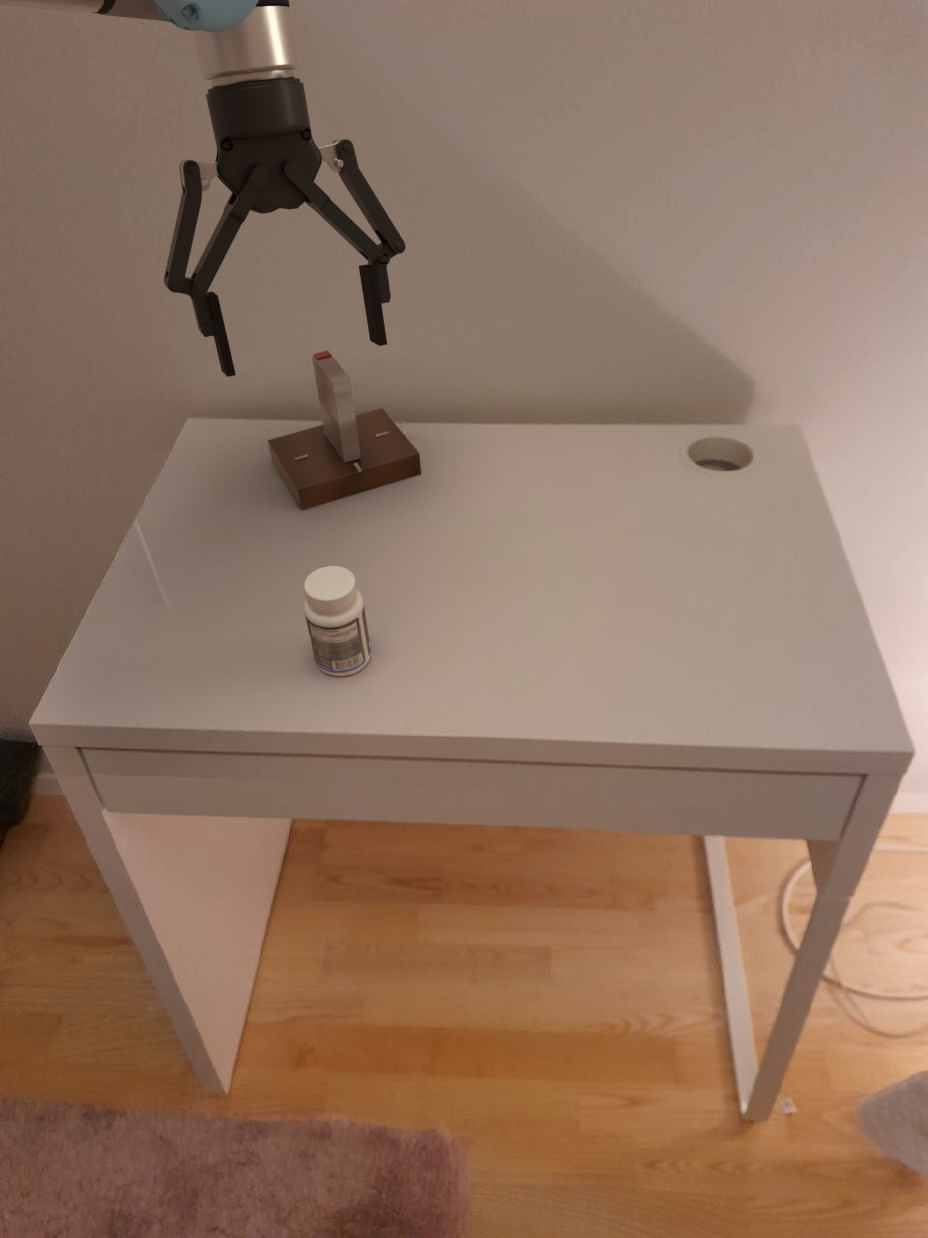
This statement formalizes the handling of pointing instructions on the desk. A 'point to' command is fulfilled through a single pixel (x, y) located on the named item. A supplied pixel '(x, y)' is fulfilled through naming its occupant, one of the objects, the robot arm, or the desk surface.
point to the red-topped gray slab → (336, 406)
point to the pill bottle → (336, 621)
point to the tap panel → (323, 472)
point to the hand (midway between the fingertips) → (305, 357)
